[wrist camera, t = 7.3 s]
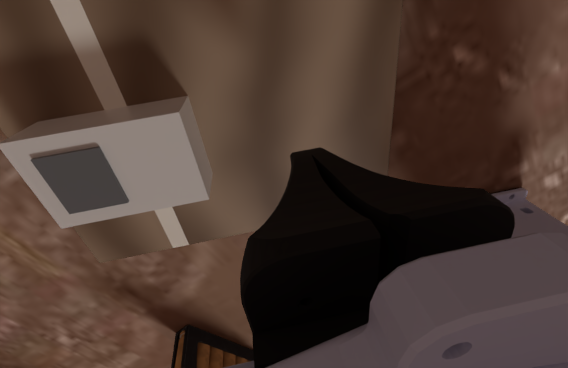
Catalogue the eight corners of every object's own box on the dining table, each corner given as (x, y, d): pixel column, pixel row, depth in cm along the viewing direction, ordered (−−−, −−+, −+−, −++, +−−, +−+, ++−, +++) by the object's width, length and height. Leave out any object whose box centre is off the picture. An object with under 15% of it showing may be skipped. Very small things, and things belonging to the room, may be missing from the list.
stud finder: (188, 95, 15) (178, 113, 12) (212, 173, 18) (208, 201, 15) (37, 121, 15) (-7, 146, 12) (86, 197, 17) (59, 231, 15)
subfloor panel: (398, -61, 14) (408, -66, 13) (379, 196, 22) (384, 204, 22) (-68, 7, 12) (-90, 6, 11) (104, 253, 21) (99, 263, 20)
